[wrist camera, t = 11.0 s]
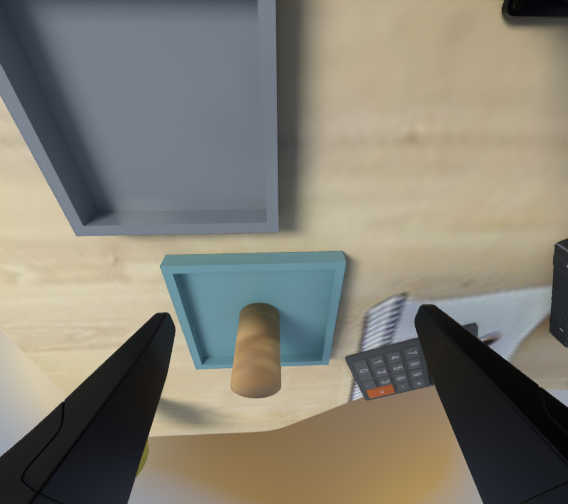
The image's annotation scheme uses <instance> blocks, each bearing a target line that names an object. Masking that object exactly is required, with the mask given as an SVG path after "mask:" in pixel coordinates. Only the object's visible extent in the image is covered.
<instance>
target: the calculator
mask: <svg viewBox="0 0 568 504" xmlns="http://www.w3.org/2000/svg"><path fill="white" fill-rule="evenodd" d="M463 327H464V328H465V329H466V330H468V331H469V332H470V333H472V334H473V335H474V336H476V337H477V331H478V327H477V325H476V324H475V323H472V324H468V325H464V326H463ZM345 359H346V362H347V364H348V366H349V368H350V370H351V372H352V374H353V376H354V378H355V380H356V382H357V384H358V386H359V388H360V390H361V392H362V394H363V396H364V398H365V400H371V399H376V398H381V397H385V396H389V395H394V394H398V393H403V392H407V391H411V390H415V389H420V388H424V387H429V386H433V385H434V383H433V380H432V378H431V375H430V373H429V370H428V368H427V365H426V362H425V359H424V355H423V352H422V348H421V345H420V341H419V338H414V339H411V340H407V341H403V342H399V343H395V344H391V345H388V346H384V347H380V348H376V349H372V350H368V351H365V352H361V353H357V354H353V355H349V356H346V357H345Z"/></svg>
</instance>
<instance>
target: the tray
mask: <svg viewBox="0 0 568 504" xmlns="http://www.w3.org/2000/svg"><path fill="white" fill-rule="evenodd" d="M345 267H346V260H345V257H344V254H343V251H328V252H283V253H238V254H193V255H166V256H165V258H164V260H163V261H162V263H161V265H160V268H161V271H162V274H163V277H164V279H165V282H166V285H167V288H168V291H169V294H170V297H171V299H172V302H173V305H174V308H175V311H176V314H177V316H178V319H179V322H180V325H181V328H182V331H183V334H184V336H185V339H186V342H187V345H188V348H189V351H190V353H191V356H192V359H193V362H194V365H195V368H196V369H219V368H233V361H234V353H235V346H236V338H237V330H238V322H239V315H240V311H241V310H242V309H243V308H244V307H245V306H247V305H249V304H252V303H266V304H269V305H272V306H273V307H275V308H276V309H277V310H278V312H279V315H280V359H281V366H304V365H328V364H329V358H330V352H331V347H332V341H333V335H334V330H335V324H336V318H337V312H338V307H339V301H340V295H341V290H342V284H343V278H344V273H345Z"/></svg>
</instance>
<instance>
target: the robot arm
mask: <svg viewBox="0 0 568 504" xmlns="http://www.w3.org/2000/svg"><path fill="white" fill-rule="evenodd" d="M514 1H515V0H504V3H503V6H502V14H503V15H504V16H505V17H546V18H568V0H518V3H517V6H516V8H515V9H513V7H512V6H513V2H514ZM414 323H415V328H416V331H417V335H418V338H419V341H420V345H421V348H422V352H423V355H424V359H425V362H426V365H427V368H428V370H429V373H430V375H431V378H432V380H433V383H434V385H435V387H436V390H437V392H438V395H439V397H440V400H441V402H442V404H443V407H444V409H445V412H446V414H447V416H448V419H449V421H450V424H451V426H452V429H453V431H454V434H455V436H456V438H457V441H458V443H459V446H460V448H461V450H462V453H463V455H464V458H465V460H466V463H467V465H468V468H469V470H470V472H471V475H472V477H473V480H474V482H475V485H476V487H477V489H478V492H479V494H480V497H481V499H482V501H483V504H568V407H567V406H565V405H564V404H562V403H561V402H560V401H559V400H557V399H556V398H555V397H553V396H552V395H551V394H549V393H548V392H547V391H546V390H544V389H543V388H542V387H539V385H538V384H536V383H535V382H534V381H533V380H531V379H530V378H529V377H527V376H526V375H525V374H523V373H522V372H521V371H520V370H518V369H517V368H516V367H514V366H513V365H512V364H510V363H509V362H508V361H507V360H505V359H504V358H503V357H501V356H500V355H499V354H498V353H496V352H495V351H494V350H492V349H491V348H490V347H488V346H487V345H486V344H485V343H483V342H482V341H481V340H479V339H478V338H477V337H476V336H474V335H473V334H472V333H470V332H469V331H468V330H466V329H465V328H464V327H463V326H461V325H460V324H459V323H457V322H456V321H455V320H453V319H452V318H451V317H450V316H448V315H447V314H446V313H444V312H443V311H442V310H441V309H439V308H438V307H437V306H435V305H433V304H423V305H421V306H420V307H419V310H418V312H417V315H416V317H415V321H414ZM175 331H176V330H175V325H174V323H173V320H172V318H171V316H170V314H169V313H167V312H163V313H156V314H155V315H154V316H152V317H151V318H150V319H149V320H148V321H147V322H146V323H145V324H144V325H143V326H142V327H141V328H140V329H139V330H138V331H137V332H136V333H135V334H133V335H132V336H131V337H130V338H129V339H128V340H127V341H126V342H125V343H124V344H123V345H122V346H121V347H120V348H119V349H118V350H117V351H116V352H114V353H113V354H112V355H111V356H110V357H109V358H108V359H107V360H106V361H105V362H104V363H103V364H102V365H101V366H100V367H99V368H98V369H96V370H95V371H94V372H93V373H92V374H91V375H90V376H89V377H88V378H87V379H86V380H85V381H84V382H83V383H82V384H81V385H80V386H79V387H77V388H76V389H75V390H74V391H73V392H72V393H71V394H70V395H69V396H68V397H67V398H66V399H65V401H64V402H62V403H60V404H59V405H58V406H57V407H56V408H55V409H54V410H53V411H52V412H51V413H50V414H49V415H48V416H47V417H46V418H44V419H43V420H42V421H41V422H40V423H39V424H38V425H37V426H36V427H35V428H33V429H32V430H31V431H30V432H29V433H28V434H27V435H25V436H24V437H23V438H22V439H21V440H20V441H19V442H17V443H16V444H15V445H14V446H13V447H12V448H10V449H9V450H8V451H7V452H6V453H4V454H3V455H2V456H1V457H0V504H127V503H128V500H129V497H130V494H131V491H132V487H133V484H134V481H135V478H136V474H137V471H138V468H139V465H140V461H141V458H142V455H143V452H144V448H145V445H146V442H147V439H148V435H149V432H150V429H151V426H152V422H153V419H154V416H155V413H156V409H157V406H158V403H159V400H160V397H161V393H162V390H163V387H164V384H165V380H166V377H167V373H168V368H169V363H170V358H171V353H172V348H173V342H174V337H175Z"/></svg>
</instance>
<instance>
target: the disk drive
mask: <svg viewBox="0 0 568 504" xmlns="http://www.w3.org/2000/svg"><path fill="white" fill-rule="evenodd" d="M554 252H555V254H554V256H553V265H554V270H553V285H552V302H551V317H550V319H549V320H550V332H551V334H552V335H553V336H554V337H555V338H556V339H557V340H558V341H559V342H560V343H561V344H562V345H564V347H566V348H567V347H568V239H565V240H563V241H560V242H557V243H556V244H555V251H554Z"/></svg>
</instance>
